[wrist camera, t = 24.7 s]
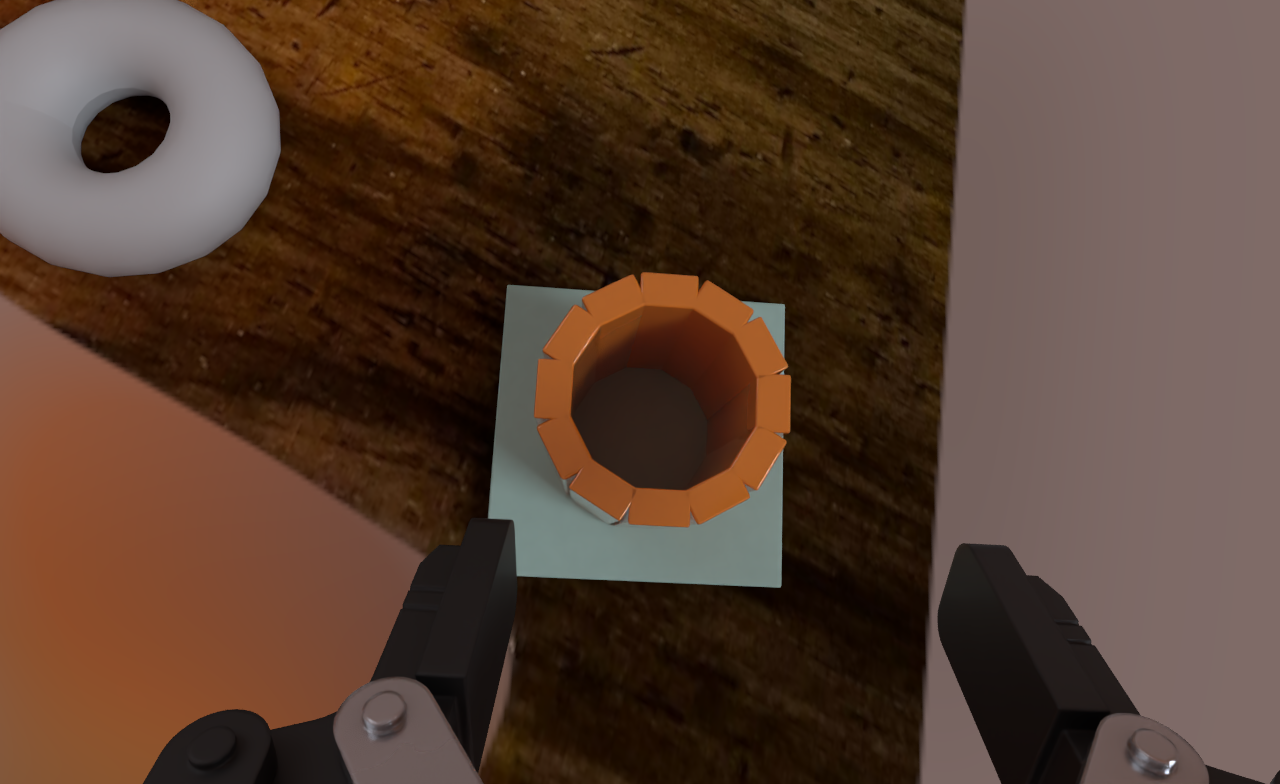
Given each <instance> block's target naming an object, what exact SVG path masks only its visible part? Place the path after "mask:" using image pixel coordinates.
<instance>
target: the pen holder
mask: <svg viewBox="0 0 1280 784" xmlns="http://www.w3.org/2000/svg"><path fill="white" fill-rule="evenodd" d="M698 285H699V278H698V277H697V276H689V275H675V274H662V273H648V272H643V273H641V276H640V280H639V284H638V282H637V280H636V278H635V276H634V275H629V276H627V277H624V278H622V279H620V280H618V281H616V282H614V283H612V284H609V285H607V286H605V287H603V288H601V289H599V290H596V291H594V292H592V293H590V294H588V295H586V296H584V297H583V298H582V308H581V307H580V306H578V305H573V306H572V307H571V309H570V310H569V312H568V313H567V314H566V316H565V317H564V319H563V320H562V322H561V323H560V324H559V326H558V327H557V329H556V330H555V332H554V333H553V334H552V336H551V337H550V339H549V340H548V342H547V343H546V344H545V346H544V347H543V350H542V351H543V357H544V359H541V358H540V359H538V366H537V379H536V393H535V406H534V418H535V421H536V423H537V431H538V434H539V436H540V439H541V442H542V444H543V447H544V449H545V452H546V454H547V457H548V459H549V461H550V463H551V465H552V467H553V469H554V471H555V473H556V475H557V478H558V480H559V482H560V484H561V486H562V488H563V490H564V492H565V493H566V494H570V496H571V501H572V502H574V503H575V504H577V505H578V506H580V507H581V508H583V509H584V510H586V511H587V512H589V513H591V514H592V515H594V516H595V517H597V518H598V519H600V520H601V521H603V522H604V523H606V524H610V523H614V526H615V527H627V528H647V529H667V528H688V527H689V526H690V525H699V524H702V523H704V522H706V521H708V520H710V519H712V518H714V517H716V516H717V515H719V514H721V513H723V512H725V511H727V510H729V509H731V508H733V507H734V506H736V505H738V504H740V503H742V502H744V501H746V500H748V499H749V498H750V494H749V492H753V491H757V490H759V488H760V487H761V485H762V483H763V482H764V480H765V478H766V477H767V475H768V473H769V472H770V470H771V468H772V467H773V465H774V463H775V462H776V460H777V458H778V457H779V455H780V453H781V452H782V450H783V448H784V447H785V445H786V440H785V439H783V438H782V437H781V436H783V435H785V434H788V433H789V432H790V403H791V377H790V375H783V374H780V373H781V372H783V371H784V370H785V369H787V367H788V365H787V363H786V361H785V359H784V357H783V355H782V354H781V352H780V350H779V348H778V346H777V344H776V343H775V341H774V339H773V337H772V335H771V333H770V332H769V330H768V328H767V326H766V324H765V322H764V321H763V319H762V317H758V318H756V319H754V320H752V321H750V322H748V321H749V319H750V318H751V316H752V315H753V312H754V310H753V309H752V308H750V307H749V306H747V305H746V304H744V303H743V302H741V301H740V300H738V299H736V298H735V297H733V296H732V295H730V294H729V293H727V292H726V291H724V290H722V289H721V288H719V287H718V286H716V285H715V284H713V283H712V282H710V281H705V282H704V283H703V285H702V286H701V288H700V289H699V291H698ZM747 322H748V323H747ZM626 367H627V368H643V369H658V370H663V371H664V372H666V373H667V374H669V375H670V376H672V377H674V378H675V379H677V380H678V381H680V382H681V383H683V384H684V385H686V386H687V387H689V388H691V390H692V392H693V394H694V396H695V398H696V400H697V402H698V404H699V406H700V407H701V409H702V411H703V413H704V415H705V417H706V419H707V440H706V456H705V458H704V459H703V461H702V463H701V464H700V466H699V467H698V469H697V471H696V472H695V474H694V475H693V477H692V479H691V480H690V482H689V483H688V485H687V486H685V487H683V488H681V489H679V490H676V489H657V488H639V487H634V486H633V485H631V484H630V483H628V482H627V481H625V480H624V479H622V478H621V477H619V476H617V475H616V474H614V473H613V472H611V471H610V470H608V469H607V468H605V467H604V466H602V465H601V464H599V463H598V462H596V461H595V460H593V458H592V456H591V454H590V452H589V450H588V448H587V446H586V444H585V442H584V440H583V438H582V436H581V434H580V432H579V430H578V428H577V427H576V425H575V423H574V418H575V411H576V409H577V408H578V406H579V405H580V404H581V402H582V401H583V399H584V398H585V396H586V395H587V393H588V392H589V390H590V389H591V387H592V386H593V384H594V383H595V382H597V381H599V380H601V379H603V378H605V377H607V376H609V375H611V374H614V373H616V372H618V371H620V370H622V369H624V368H626Z"/></svg>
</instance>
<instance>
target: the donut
mask: <svg viewBox="0 0 1280 784" xmlns="http://www.w3.org/2000/svg"><path fill="white" fill-rule="evenodd" d="M147 95H148V96H152V97H157V98H159V99H161V100H162V101H164V103H165V104H166V105H167V107H168V109H169V112H170V125H169V128H168V131H167V133H166V136H165V139H164V140H163V142H162V143H161V144H160V146H159V147H158V148H157V149H156V151H155V152H154V153H153V154H152V155H151V156H150V157H148V158H147V159H145V160H144V161H143V162H141V163H140V164H138V165H137V166H135V167H132V168H129V169H126V170H123V171H120V172H117V173H105V174H104V173H100V172H95V171H92V170H90V169H88V168H87V167H86V166H85V164H84V162H83V159H82V156H81V142H82V139H83V136H84V134H85V131H86V128H87V126H88V125H89V124H90V122H91V121H92V120H93V119H94V117H95V116H96V115H97V114H98V113H99V112H100V111H102V110H103V109H105V108H106V107H107V106H109V105H110V104H112V103H113V102H116V101H119V100H122V99H125V98H128V97H131V96H147ZM280 152H281V146H280V120H279V109H278V107H277V104H276V102H275V99H274V97H273V94H272V92H271V90H270V87H269V85H268V82H267V80H266V78H265V75H264V73H263V70H262V68H261V66H260V64H259V63H258V61H257V60H256V59H255V58H254V57H253V56H252V55H251V54H250V53H249V52H248V50H247V49H246V48H245V47H244V46H243V45H242V44H241V43H240V42H239V41H238V39H237V38H236V37H235V36H234V35H233V34H232V33H231V32H230V31H229V30H228V29H227V28H226V27H225V26H224V25H223V24H221V23H219V22H217V21H215V20H214V19H212V18H210V17H208V16H207V15H205V14H203V13H201V12H200V11H198V10H196V9H194V8H193V7H191V6H189V5H187V4H185V3H183V2H180V1H178V0H55V1H51V2H48V3H45V4H42V5H39V6H37V7H35V8H33V9H32V10H30V11H29V12H27V13H26V14H24V15H23V16H21V17H19V18H18V19H16V20H15V21H13V22H12V23H10V24H9V25H7V26H5V27H4V28H2V29H1V30H0V233H1V234H2V235H3V236H4V237H6V238H7V239H8V240H10V241H11V242H13V243H15V244H16V245H18V246H20V247H22V248H23V249H25V250H27V251H29V252H30V253H32V254H34V255H36V256H37V257H39V258H41V259H43V260H44V261H46V262H48V263H49V264H52V265H56V266H60V267H64V268H68V269H73V270H78V271H82V272H87V273H92V274H97V275H101V276H106V277H117V276H130V275H142V274H155V273H160V272H164V271H166V270H169V269H172V268H174V267H177V266H180V265H182V264H185V263H188V262H190V261H193V260H196V259H198V258H201V257H204V256H206V255H208V254H209V253H211V252H212V251H213V250H215V249H216V248H217V247H219V246H220V245H221V244H223V243H224V242H225V241H227V240H228V239H229V238H231V237H232V236H233V235H235V234H236V233H237V232H239V231H240V230H241V229H242V228H243V227H244V226H245V224H246V223H247V222H248V220H249V219H250V217H251V216H252V215H253V213H254V212H255V211H256V209H257V208H258V207H259V205H260V204H261V202H262V201H263V200H264V198H265V197H266V196H267V193H268V190H269V187H270V184H271V180H272V177H273V174H274V171H275V168H276V165H277V162H278V158H279V155H280Z"/></svg>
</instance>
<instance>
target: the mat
mask: <svg viewBox="0 0 1280 784" xmlns="http://www.w3.org/2000/svg"><path fill="white" fill-rule="evenodd" d="M592 292H594V291H590V290H575V289H561V288H547V287H533V286H519V285H508V286H507V294H506V306H505V318H504V330H503V342H502V354H501V366H500V378H499V390H498V402H497V414H496V426H495V438H494V450H493V462H492V474H491V486H490V498H489V510H488V518H489V519H509V520H513V521H514V527H515V547H516V570H517V576H527V577H550V578H572V579H595V580H618V581H641V582H664V583H687V584H709V585H732V586H755V587H778V588H780V587H781V566H782V485H783V450H782V452H781V453H780V455H779V457H778V458H777V460H776V462H775V463H774V465H773V467H772V468H771V470H770V472H769V473H768V475H767V477H766V478H765V480H764V482H763V483H762V485H761V487H760V488H759V490H757V491H753V492H749V494H750V498H749V499H748V500H746V501H744V502H742V503H740V504H738V505H736V506H734V507H733V508H731V509H729V510H727V511H725V512H723V513H721V514H719V515H717V516H716V517H714V518H712V519H710V520H708V521H706V522H704V523H702V524H699V525H690V526H689V527H688V528H667V529H647V528H627V527H615V526H614V523H610V524H606V523H604V522H603V521H601V520H600V519H598V518H597V517H595V516H594V515H592V514H591V513H589V512H587V511H586V510H584V509H583V508H581V507H580V506H578V505H577V504H575V503H574V502H572V501H571V496H570V494H566V493H565V492H564V490H563V488H562V486H561V484H560V482H559V480H558V478H557V475H556V473H555V471H554V469H553V467H552V465H551V463H550V461H549V459H548V457H547V454H546V452H545V449H544V447H543V444H542V442H541V439H540V436H539V434H538V431H537V423H536V421H535V418H534V406H535V393H536V379H537V366H538V359H540V358H541V359H544V357H543V351H542V350H543V347H544V346H545V344H546V343H547V342H548V340H549V339H550V337H551V336H552V334H553V333H554V332H555V330H556V329H557V327H558V326H559V324H560V323H561V322H562V320H563V319H564V317H565V316H566V314H567V313H568V312H569V310H570V309H571V307H572V306H573V305H578V306H580V307H581V308H582V298H583V297H584V296H586V295H588V294H590V293H592ZM741 302H743V303H744V304H746V305H747V306H749V307H750V308H752V309H753V310H754V312H753V315H752V316H751V318H750V319H749V321H748V322H750V321H752V320H754V319H756V318H758V317H762V319H763V321H764V322H765V324H766V326H767V328H768V330H769V332H770V333H771V335H772V337H773V339H774V341H775V343H776V344H777V346H778V348H779V350H780V352H781V354H782V355H783V357H784V325H785V305H784V304H773V303H759V302H745V301H741ZM748 322H747V323H748ZM780 374H783V375H784V371H783V372H781V373H780ZM574 423H575V425H576V427H577V428H578V430H579V432H580V434H581V436H582V438H583V440H584V442H585V444H586V446H587V448H588V450H589V452H590V454H591V456H592V458H593V460H595V461H596V462H598V463H599V464H601V465H602V466H604V467H605V468H607V469H608V470H610V471H611V472H613V473H614V474H616V475H617V476H619V477H621V478H622V479H624V480H625V481H627V482H628V483H630V484H631V485H633V486H634V487H639V488H657V489H676V490H679V489H681V488H683V487H685V486H687V485H688V483H689V482H690V480H691V479H692V477H693V475H694V474H695V472H696V471H697V469H698V467H699V466H700V464H701V463H702V461H703V459H704V458H705V456H706V440H707V419H706V417H705V415H704V413H703V411H702V409H701V407H700V406H699V404H698V402H697V400H696V398H695V396H694V394H693V392H692V390H691V388H689V387H687V386H686V385H684V384H683V383H681V382H680V381H678V380H677V379H675V378H674V377H672V376H670V375H669V374H667V373H666V372H664V371H663V370H658V369H643V368H627V367H626V368H624V369H622V370H620V371H618V372H616V373H614V374H611V375H609V376H607V377H605V378H603V379H601V380H599V381H597V382H595V383H594V384H593V386H592V387H591V389H590V390H589V392H588V393H587V395H586V396H585V398H584V399H583V401H582V402H581V404H580V405H579V406H578V408H577V409H576V411H575V418H574ZM781 437H782V438H783V436H781Z"/></svg>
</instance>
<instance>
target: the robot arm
mask: <svg viewBox="0 0 1280 784" xmlns="http://www.w3.org/2000/svg"><path fill="white" fill-rule="evenodd" d="M516 600H517V570H516V547H515V527H514V521H513V520H509V519H489V518H472V519H471V520H470V522H469V524H468V527H467V530H466V533H465V536H464V538H463V541H462V544H461V546H455V545H439V546H438V547H437V548H436V549H435V550H434V551H433V552H432V553H431V554H429V555H428V556H427V557H426V558H425V559H424V560H423V561H422V562H421V563H420V565H419V567H418V569H417V572H416V574H415V576H414V579H413V581H412V584H411V586H410V591H408V594H407V596H406V598H405V600H404V603H403V609H401V610H400V612H399V615H398V617H397V619H396V622H395V624H394V627H393V629H392V631H391V634H390V636H389V639H388V641H387V644H386V646H385V648H384V651H383V653H382V655H381V658H380V660H379V663H378V665H377V667H376V670H375V672H374V674H373V677H372V679H371V681H370V682H369V683H367V684H365V685H364V686H362V687H360V688H359V689H357V690H356V691H354V692H353V693H352V694H351V695H350V696H348V697H347V699H346V700H345V701H344V702H343V703H342V704H341V706H340V708H339V709H338V711H337V712H335V713H333V714H330V715H328V716H326V717H323V718H319V719H316V720H312V721H308V722H303V723H299V724H294V725H290V726H286V727H282V728H277V729H272V730H270V729H269V726H268V724H267V723H266V721H265V720H264V719H263V718H262V717H261V716H259V715H258V714H256V713H254V712H251V711H247V710H238V709H235V710H225V711H220V712H216V713H213V714H210V715H207V716H205V717H202V718H200V719H198V720H196V721H194V722H193V723H191V724H189V725H188V726H187V727H185V728H184V729H182V730H181V731H180V732H179V733H177V735H175V736H174V737H173V738H172V739H171V740H170V741H169V743H168V744H167V745H166V746H165V748H164V749H163V750H162V752H161V754H160V755H159V757H158V759H157V760H156V762H155V764H154V766H153V768H152V769H151V771H150V772H149V774H148V776H147V778H146V779H145V781H144V783H143V784H483V782H482V780H481V779H480V777H479V775H478V771H479V767H480V763H481V758H482V754H483V750H484V746H485V741H486V737H487V733H488V728H489V724H490V720H491V715H492V711H493V707H494V703H495V698H496V694H497V690H498V685H499V681H500V677H501V672H502V668H503V664H504V660H505V655H506V651H507V647H508V643H509V638H510V634H511V630H512V625H513V621H514V616H515V609H516ZM938 631H939V636H940V640H941V643H942V646H943V648H944V650H945V652H946V655H947V657H948V660H949V662H950V664H951V667H952V669H953V671H954V673H955V676H956V678H957V681H958V683H959V685H960V687H961V690H962V692H963V695H964V697H965V699H966V702H967V704H968V706H969V708H970V711H971V713H972V716H973V718H974V720H975V722H976V725H977V727H978V730H979V732H980V734H981V737H982V739H983V741H984V744H985V746H986V749H987V750H988V753H989V756H990V758H991V760H992V763H993V765H994V767H995V770H996V772H997V774H998V777H999V779H1000V781H1001V784H1265V783H1262V782H1258V781H1255V780H1252V779H1249V778H1245V777H1242V776H1239V775H1235V774H1232V773H1229V772H1226V771H1223V770H1219V769H1216V768H1213V767H1210V766H1207V765H1205V764H1204V762H1203V760H1202V759H1201V757H1200V756H1199V754H1198V753H1197V752H1196V751H1195V750H1194V748H1193V747H1192V746H1191V745H1190V744H1189V743H1188V742H1187V741H1186V740H1185V739H1183V738H1182V737H1181V736H1179V735H1178V734H1177V733H1175V732H1174V731H1172V730H1171V729H1169V728H1168V727H1166V726H1164V725H1163V724H1160V723H1159V722H1157V721H1154V720H1152V719H1150V718H1146V717H1143V716H1141V715H1140V714H1139V712H1138V711H1137V709H1136V708H1135V706H1134V705H1133V703H1132V702H1131V700H1130V698H1129V697H1128V695H1127V694H1126V692H1125V691H1124V689H1123V688H1122V686H1121V685H1120V683H1119V682H1118V680H1117V679H1116V677H1115V676H1114V674H1113V673H1112V671H1111V670H1110V668H1109V667H1108V665H1107V663H1106V662H1105V660H1104V659H1103V657H1102V656H1101V654H1100V653H1099V651H1098V650H1097V648H1096V647H1095V646H1094V645H1092V644H1091V639H1090V638H1089V636H1088V635H1087V633H1086V632H1085V630H1084V629H1083V627H1082V626H1079V624H1078V619H1077V618H1076V616H1075V615H1074V613H1073V612H1072V610H1071V609H1070V607H1069V606H1068V604H1067V603H1066V601H1065V600H1064V598H1063V597H1062V596H1061V595H1060V594H1058V593H1057V592H1056V591H1055V590H1054V589H1052V588H1051V587H1050V586H1049V585H1048V584H1046V583H1045V582H1044V581H1043V580H1042V579H1041V578H1039V577H1038V576H1029V575H1028V576H1027V575H1026V574H1025V572H1024V570H1023V569H1022V567H1021V566H1020V564H1019V562H1018V561H1017V559H1016V558H1015V556H1014V555H1013V553H1012V551H1011V550H1010V549H1009V548H1008V547H1007V546H1004V545H984V544H965V543H963V544H961V545H959V547H958V548H957V550H956V552H955V555H954V559H953V562H952V566H951V569H950V572H949V575H948V578H947V582H946V585H945V588H944V591H943V595H942V598H941V601H940V605H939V609H938ZM1270 784H1280V771H1279V772H1278V773H1277V774H1276V775H1275V777H1274V778H1273V780H1272V781H1271V783H1270Z"/></svg>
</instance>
